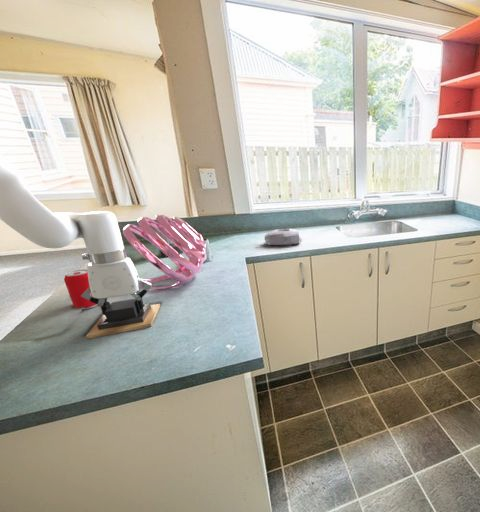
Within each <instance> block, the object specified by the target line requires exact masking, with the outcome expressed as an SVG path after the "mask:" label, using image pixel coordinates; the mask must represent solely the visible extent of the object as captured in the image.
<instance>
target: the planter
mask: <svg viewBox="0 0 480 512" xmlns="http://www.w3.org/2000/svg"><path fill="white" fill-rule="evenodd" d="M203 240H204V241H205V243H206V247H205V252H206V254H207V257H206V260H205V261H204V262H203V263H208V262H207V261H209V262H212V260H213V259H212V253H211V248H210V242H209V239H208V238H203ZM198 244H199V243H198ZM199 245H200V244H199Z"/></svg>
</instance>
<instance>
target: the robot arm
mask: <svg viewBox="0 0 480 512" xmlns="http://www.w3.org/2000/svg"><path fill="white" fill-rule="evenodd" d="M0 220H1V221H2V222H3V223H4V224H6V225H7V226H9V227H10V228H11V229H13V230H14V231H16V232H17V233H18V234H20V235H21V236H22V237H24V238H25V239H27V241H30V242H31V243H32V244H35V245H37V246H39V247H41V248H45V249H52V250H53V249H56V250H57V249H61V248H65V247H67V246H69V245H71V244H72V243H73V242H75V241H76V240H78V239H83V242H84V244H85V248H86V251H87V253H85V254H82V255H81V258H82V260H83V261H84V260H88V261H89V263H87V266H86V270H87V271H88V279H89V285H90V287H89V288H88V289H87V290H86V291H85V292H84V293H83V294H82V295H81V297H83V298H85V299H87V300H90V301H91V302H93V303H95V304H97V306H98V307H100V310H101V313H102V315H105V311H106V310H107V308H108V307H109V306H110V304H111V303H110V302H109V301H108V298H117V297H123V296H129V295H131V296H132V298H133V299H135V301H134V303H135V306H136V309H137V313H141V311H142V309H143V308H144V304H145V303H144V301H143V297H145V295H146V294H147V293H148V292H149V291H150V290H151V289H150V288H151V287H153V284H152V282H147V281H145V280H142V279H143V278H140V276H139V274H138V271H137V269H136V266H135V264H134V262H133V260H132V258H131V257H128V256H127V252H126V250H125V249H126V248H125V245H124V241H123V238H122V233H121V229H120V226H119V222H118V219H117V216H116V215H115V213H113V211H106V210H103V211H101V210H97V211H89V212H88V211H87V212H52V211H51V210H50V209H49V208H48V207H46V206H45V205H44V204H43V203H42V202H40V200H38V199H37V198H36V197H35V195H34V194H32V192H31V191H30V189H29V188H28V187H27V185H26V182H25V179H24V176H23V174H22V173H21V172H20V170H19V169H17V167H15V166H14V165H13V164H12V163H10V162H9V161H8V160H7V159H6V158H4V157H3V156H2V155H1V154H0ZM141 285H142V286H144V287H143V289H142V290H139V289H140V288H141V287H142V286H141ZM91 293H92V294H91ZM105 316H106V315H105ZM106 319H107V318H106Z"/></svg>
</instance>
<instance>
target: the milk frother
mask: <svg viewBox="0 0 480 512" xmlns="http://www.w3.org/2000/svg"><path fill="white" fill-rule="evenodd" d="M174 229H175V228H174ZM153 230H154V231H155V232H156V233H157V234H158V235H159V236H160V237H161V238H162V239H163V240H164V241H165V242H166V243H167V244H168V245H170V246H171V247H172V248H173V249H174V250H175V251H176V252H178V253H179V254H180V255H181V254H182V253H183V252H182V251H181V250H180V249H179V248H178V247H177V246H176V245H175V244H174V243H173V242H172V241H170V240H169V239H168V238H167V237H166V236H164V235H163V234H162V233H160V232H159V231H158V230H156V229H155V228H154V227H153ZM175 230H176V229H175ZM176 231H177V230H176ZM177 232H178V231H177ZM182 237H183V238H184V239H185V240H187V239H186V238H185V237H184V236H183V235H182ZM187 241H188V240H187ZM188 242H189V241H188ZM189 243H190V242H189ZM159 253H160V257H163V256H164V257H165V258H167V256H166V255H165V254H164V253H163V252H162V251H161V250H159ZM164 257H163V258H164Z"/></svg>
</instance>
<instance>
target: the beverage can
mask: <svg viewBox="0 0 480 512" xmlns="http://www.w3.org/2000/svg"><path fill="white" fill-rule="evenodd" d="M63 281H64V283H65V287H66V289H67V292H68V294H69V298H70V300H71V303H72V306H73V308H78V309H79V308H80V309H81V308H82V309H81V310H82V311H84V310H89V309H93V308H95V307H97V306H98V305H97V304H95V303H93V302H91V301H90V300H87V299H85V298H83V297H81V295H82V294H83V293H84V292H85V291H86V290H87V289H88V288H89V287H90V285H89V279H88V271H87V269H76V270H72V271H68V272H66V273H64V279H63ZM91 294H92V293H91Z"/></svg>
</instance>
